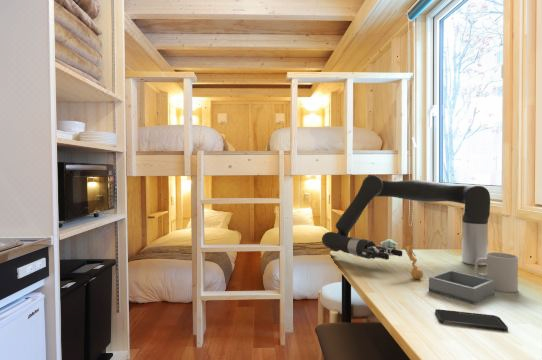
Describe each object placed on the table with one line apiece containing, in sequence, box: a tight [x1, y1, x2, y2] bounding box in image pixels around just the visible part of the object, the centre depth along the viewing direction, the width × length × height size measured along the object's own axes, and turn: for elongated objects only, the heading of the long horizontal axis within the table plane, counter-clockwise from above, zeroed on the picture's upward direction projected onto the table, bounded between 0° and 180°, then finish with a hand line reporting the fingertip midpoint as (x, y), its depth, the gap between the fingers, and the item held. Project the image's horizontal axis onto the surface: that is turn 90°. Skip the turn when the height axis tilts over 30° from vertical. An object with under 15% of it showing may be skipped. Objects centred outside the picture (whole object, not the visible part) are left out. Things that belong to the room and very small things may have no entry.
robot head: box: [380, 238, 399, 249], centre depth 159 cm, size 8×4×7 cm, turn 66°
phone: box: [434, 308, 509, 332], centre depth 85 cm, size 8×1×15 cm
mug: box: [474, 251, 519, 294], centre depth 110 cm, size 12×8×11 cm
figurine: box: [404, 244, 424, 280], centre depth 120 cm, size 8×6×12 cm
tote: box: [428, 269, 495, 305], centre depth 105 cm, size 14×14×4 cm
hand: (395, 255), depth 126 cm, fingers open, 8 cm apart
